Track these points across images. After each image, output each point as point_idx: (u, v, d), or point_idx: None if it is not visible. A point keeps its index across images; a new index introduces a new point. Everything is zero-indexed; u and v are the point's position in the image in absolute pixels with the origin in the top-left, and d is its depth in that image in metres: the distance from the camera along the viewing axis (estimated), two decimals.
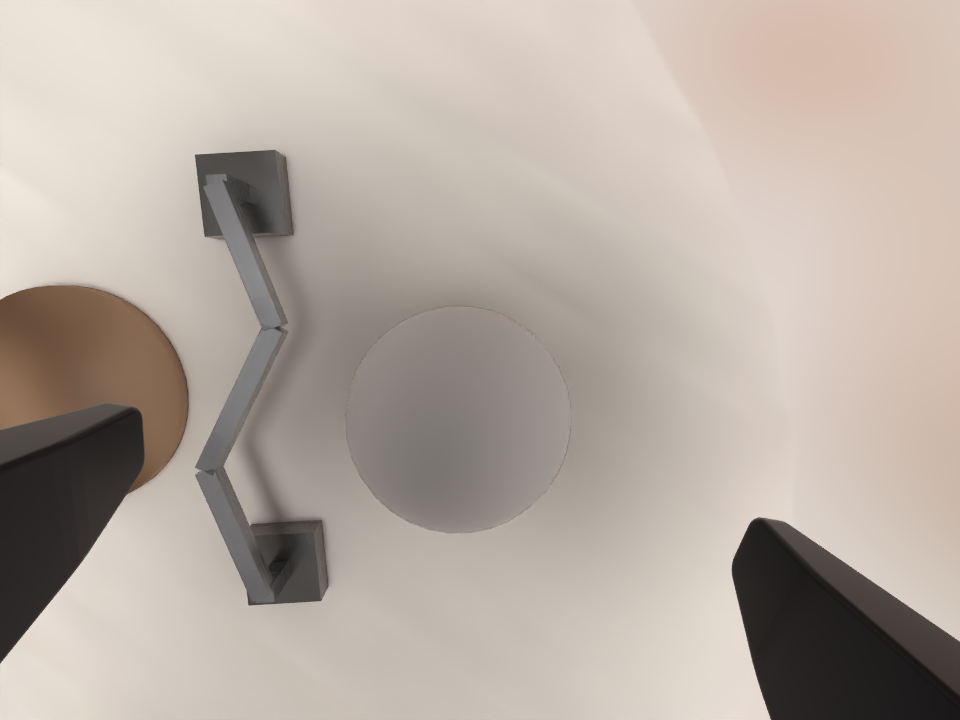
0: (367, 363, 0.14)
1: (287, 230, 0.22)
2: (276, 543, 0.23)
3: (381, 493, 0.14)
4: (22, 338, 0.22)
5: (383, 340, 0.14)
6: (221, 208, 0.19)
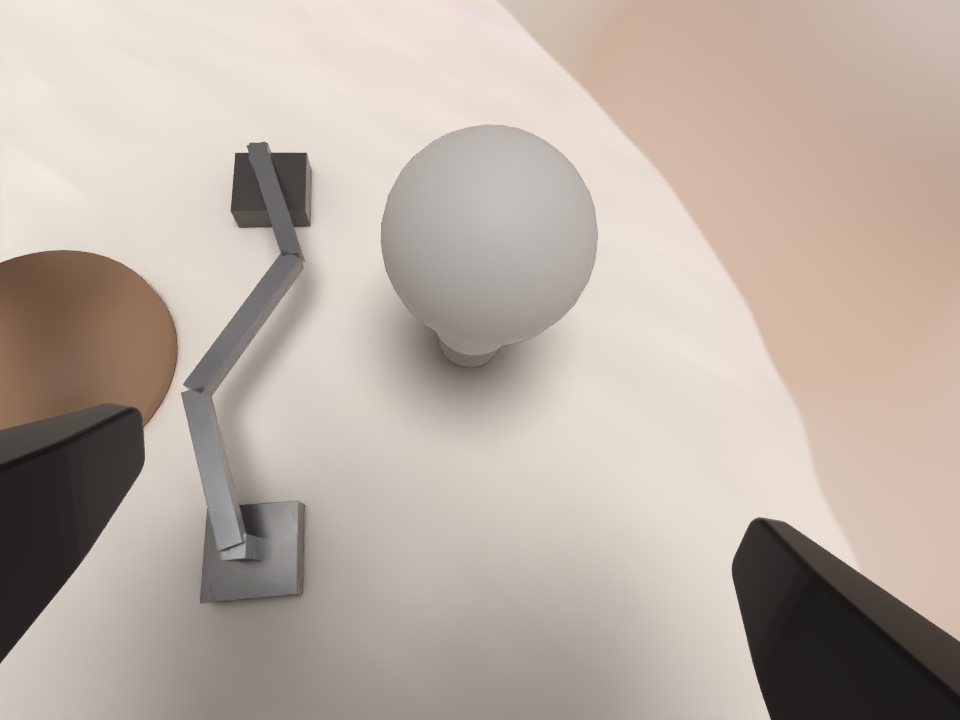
0: (409, 161, 0.16)
1: (307, 215, 0.24)
2: (250, 516, 0.19)
3: (423, 246, 0.14)
4: (15, 295, 0.22)
5: None
6: (260, 161, 0.22)
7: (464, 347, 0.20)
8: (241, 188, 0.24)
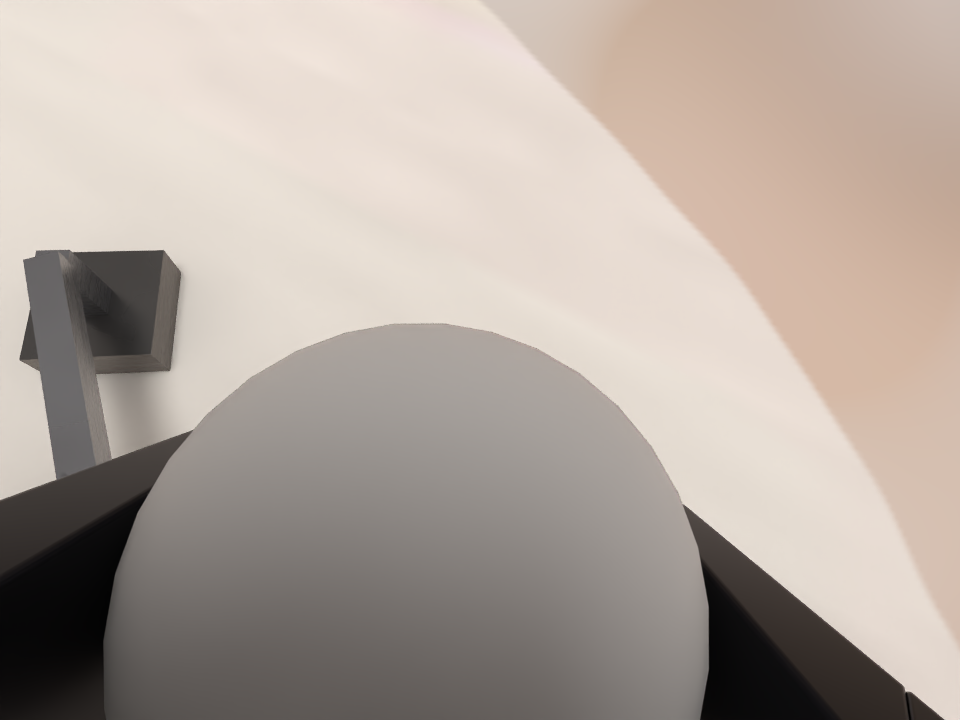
0: None
1: (159, 357, 0.15)
2: None
3: None
4: None
5: None
6: (43, 289, 0.12)
7: None
8: None
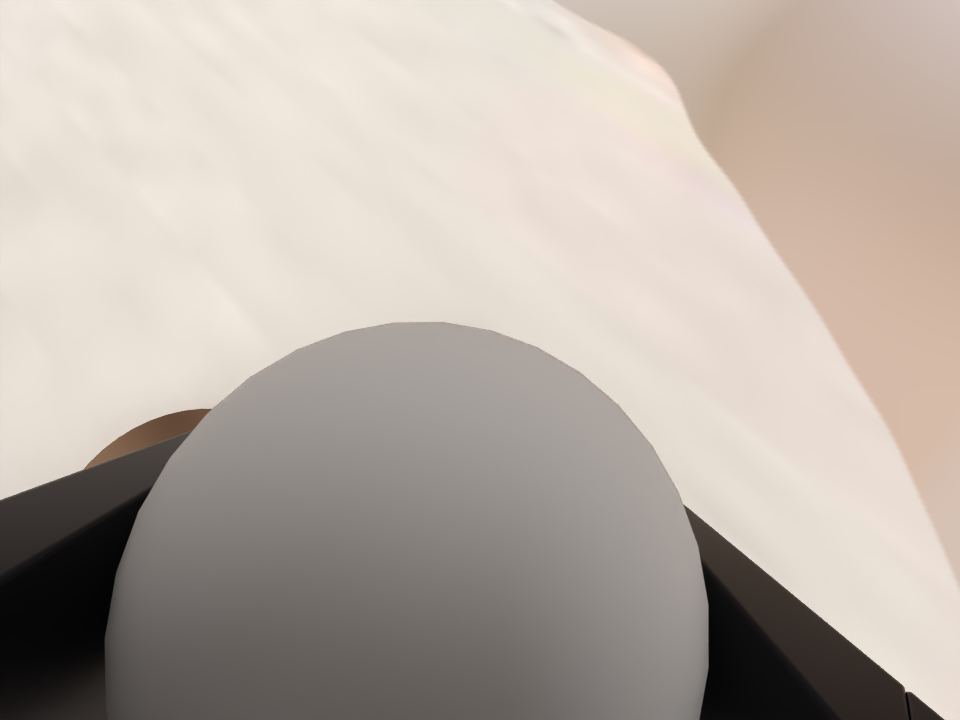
0: None
1: None
2: None
3: None
4: None
5: None
6: None
7: None
8: None
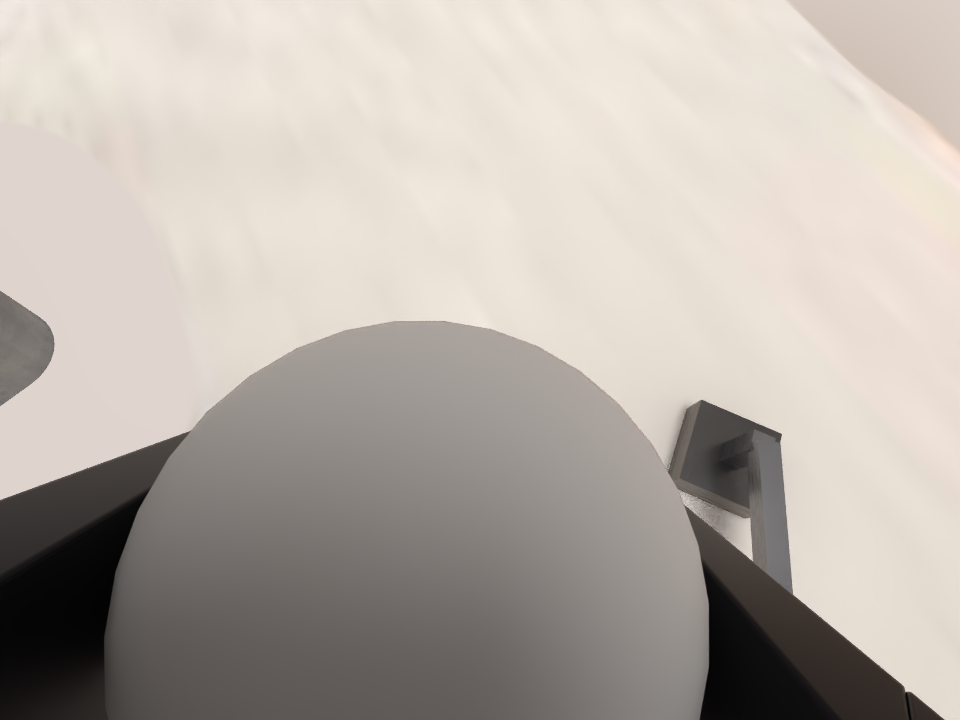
0: None
1: None
2: None
3: None
4: None
5: None
6: (770, 469, 0.17)
7: None
8: (697, 451, 0.19)
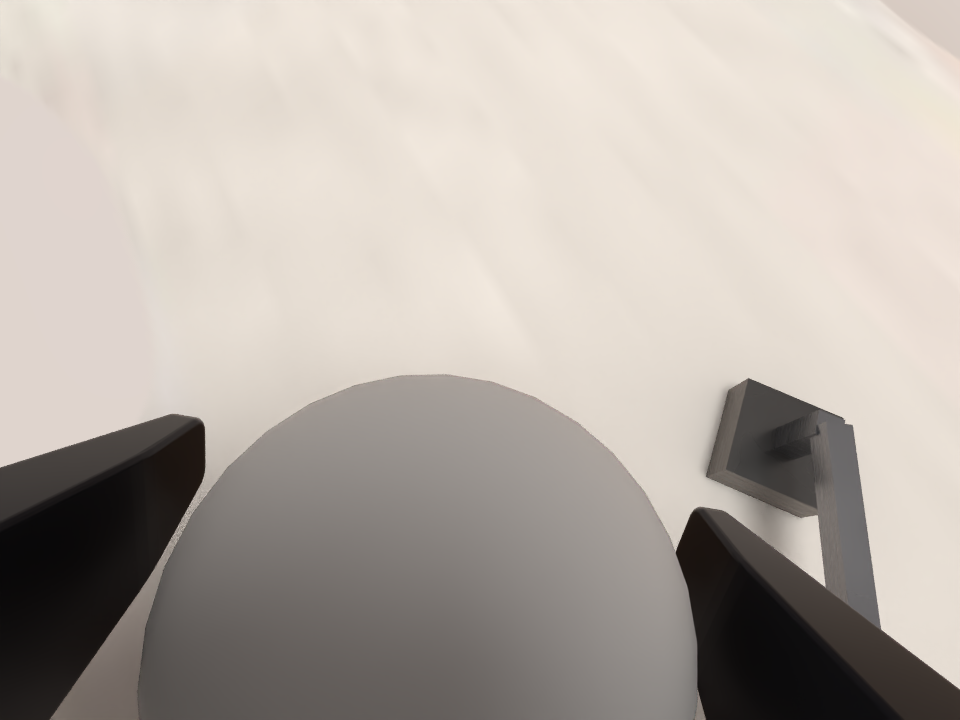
0: (220, 478, 0.06)
1: None
2: None
3: None
4: None
5: None
6: (842, 457, 0.14)
7: None
8: (746, 438, 0.16)
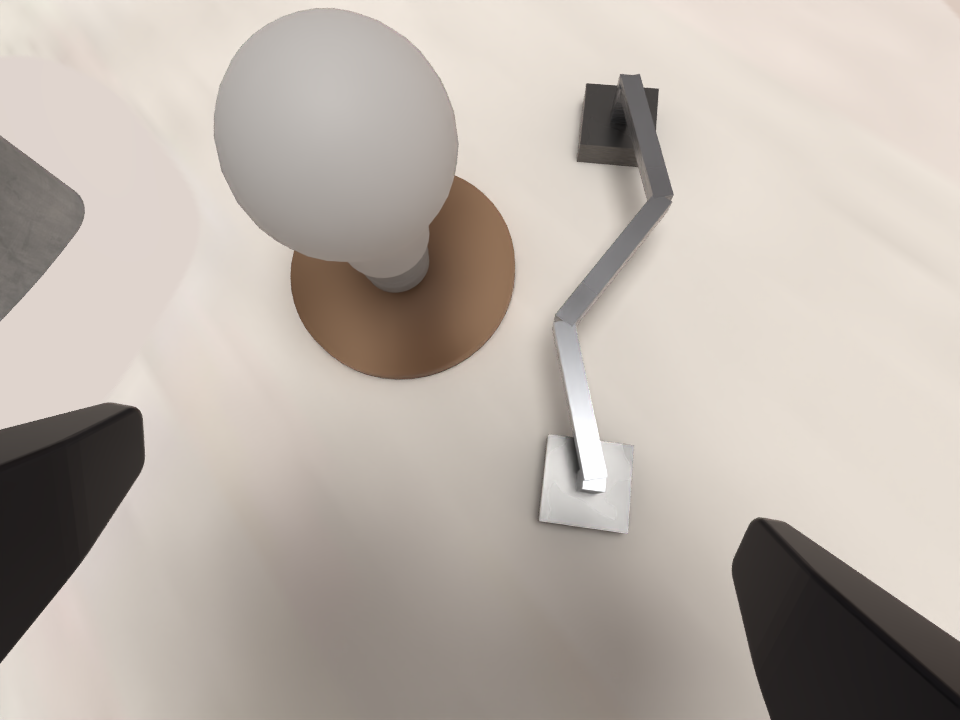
0: None
1: None
2: None
3: (251, 169, 0.13)
4: None
5: None
6: (634, 94, 0.21)
7: (380, 270, 0.19)
8: (591, 121, 0.24)
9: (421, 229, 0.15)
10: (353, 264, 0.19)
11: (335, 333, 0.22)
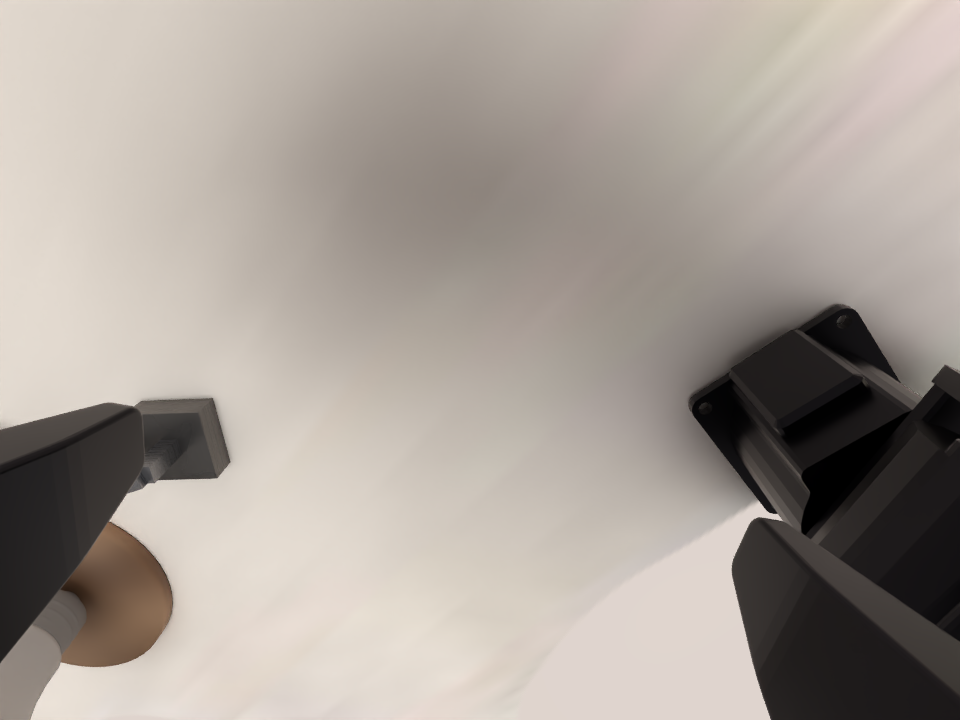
0: None
1: None
2: None
3: None
4: None
5: None
6: None
7: (44, 660, 0.23)
8: None
9: None
10: (49, 677, 0.23)
11: (144, 629, 0.27)
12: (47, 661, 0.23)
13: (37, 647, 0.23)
